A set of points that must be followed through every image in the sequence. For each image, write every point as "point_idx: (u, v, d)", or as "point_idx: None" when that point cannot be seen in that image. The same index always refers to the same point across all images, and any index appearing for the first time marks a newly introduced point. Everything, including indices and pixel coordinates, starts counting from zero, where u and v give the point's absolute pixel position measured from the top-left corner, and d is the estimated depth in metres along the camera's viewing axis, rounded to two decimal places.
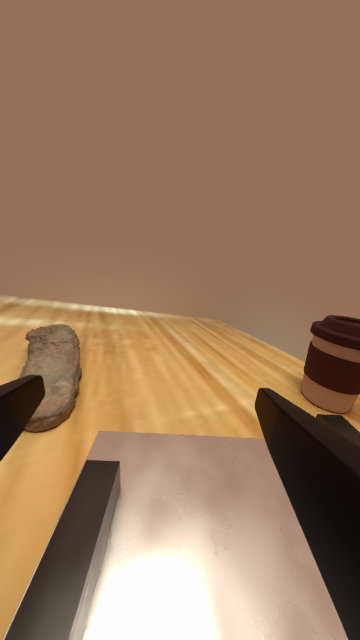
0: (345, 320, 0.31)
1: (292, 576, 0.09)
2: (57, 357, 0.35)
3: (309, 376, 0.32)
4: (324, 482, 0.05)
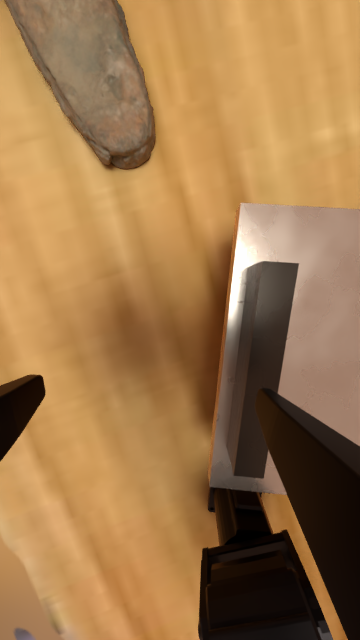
0: None
1: None
2: None
3: None
4: (324, 482, 0.05)
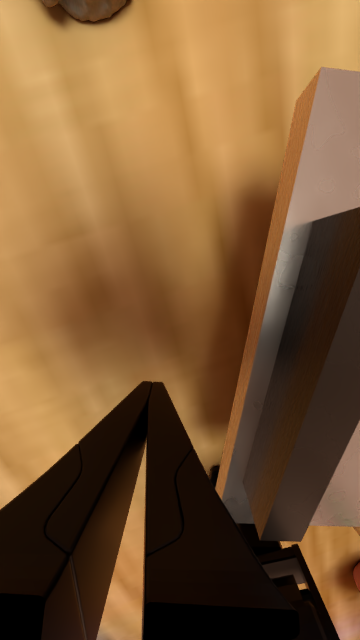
0: None
1: None
2: None
3: None
4: None
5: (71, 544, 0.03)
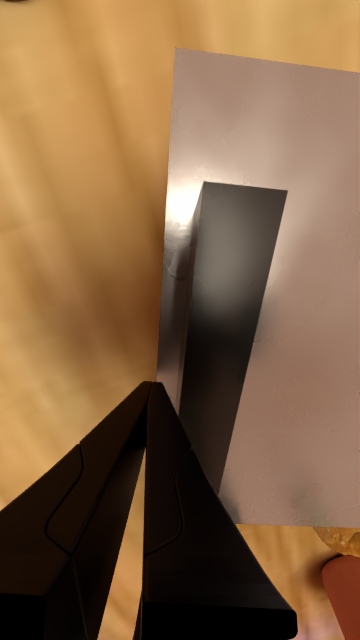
0: None
1: None
2: None
3: None
4: None
5: (73, 544, 0.03)
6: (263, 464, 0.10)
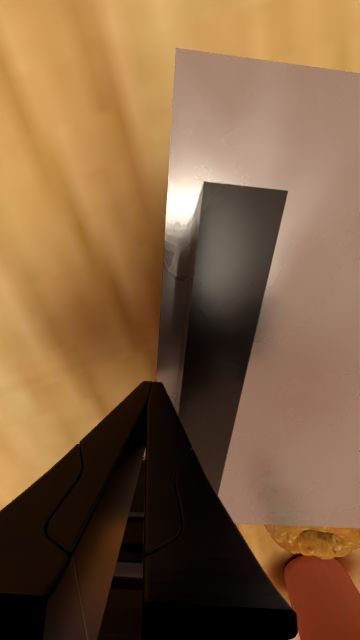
0: None
1: None
2: None
3: None
4: None
5: (72, 544, 0.03)
6: (263, 464, 0.10)
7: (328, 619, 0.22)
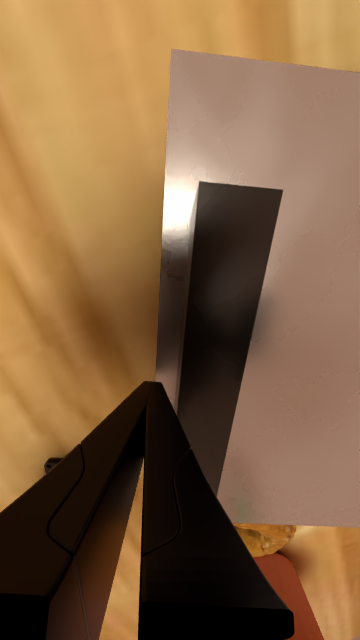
0: None
1: None
2: None
3: None
4: None
5: (75, 544, 0.03)
6: (263, 463, 0.10)
7: None
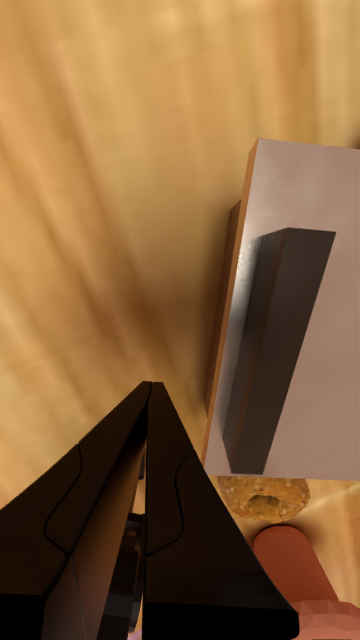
0: None
1: None
2: None
3: None
4: None
5: (71, 544, 0.03)
6: (297, 425, 0.13)
7: (285, 578, 0.24)
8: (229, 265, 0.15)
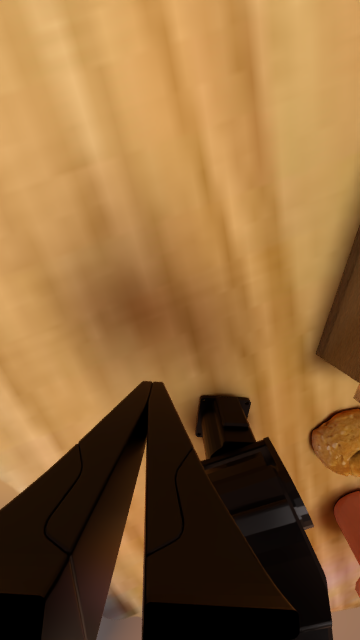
0: None
1: None
2: None
3: None
4: None
5: (71, 544, 0.03)
6: None
7: None
8: None
